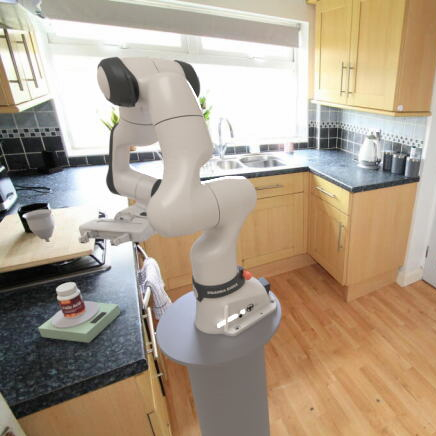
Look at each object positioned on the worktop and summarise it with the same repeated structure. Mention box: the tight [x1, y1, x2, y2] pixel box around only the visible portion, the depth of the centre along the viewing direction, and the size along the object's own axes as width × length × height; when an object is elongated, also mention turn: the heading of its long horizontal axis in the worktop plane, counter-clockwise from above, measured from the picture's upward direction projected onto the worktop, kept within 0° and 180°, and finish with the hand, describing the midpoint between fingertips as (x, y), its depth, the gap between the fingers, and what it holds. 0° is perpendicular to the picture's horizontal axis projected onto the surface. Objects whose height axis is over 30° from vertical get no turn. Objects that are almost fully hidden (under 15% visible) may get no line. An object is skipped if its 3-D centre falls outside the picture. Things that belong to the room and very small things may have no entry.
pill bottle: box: [55, 281, 86, 319], centre depth 81 cm, size 5×5×8 cm
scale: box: [37, 300, 121, 344], centre depth 84 cm, size 11×13×4 cm
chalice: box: [22, 209, 55, 243], centre depth 108 cm, size 7×7×18 cm
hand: (97, 242), depth 88 cm, fingers open, 8 cm apart
